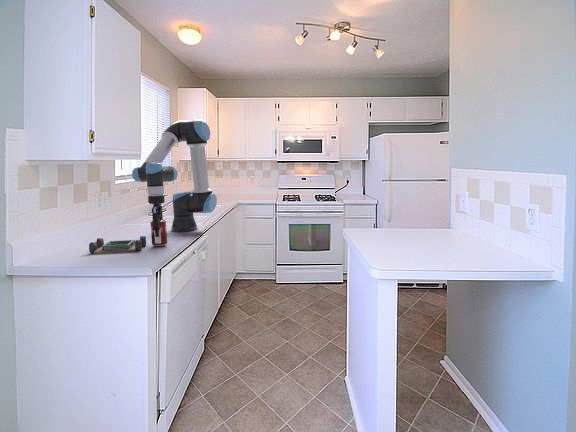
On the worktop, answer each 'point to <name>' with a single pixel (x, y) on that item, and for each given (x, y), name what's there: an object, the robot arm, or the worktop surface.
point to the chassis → (117, 246)
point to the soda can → (162, 231)
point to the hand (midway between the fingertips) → (159, 241)
